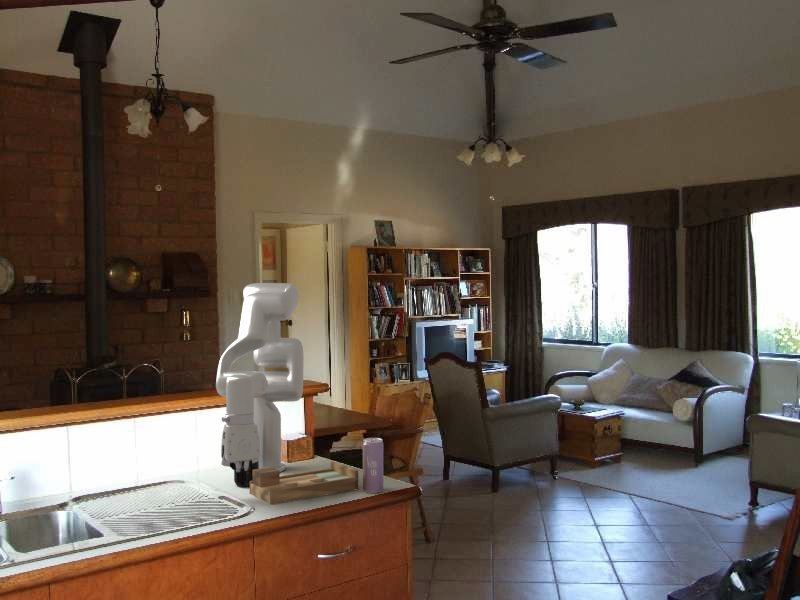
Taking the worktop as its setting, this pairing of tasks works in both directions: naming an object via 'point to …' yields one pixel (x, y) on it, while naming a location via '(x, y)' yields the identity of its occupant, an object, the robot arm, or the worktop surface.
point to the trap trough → (308, 484)
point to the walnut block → (266, 477)
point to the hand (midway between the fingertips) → (240, 484)
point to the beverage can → (373, 465)
